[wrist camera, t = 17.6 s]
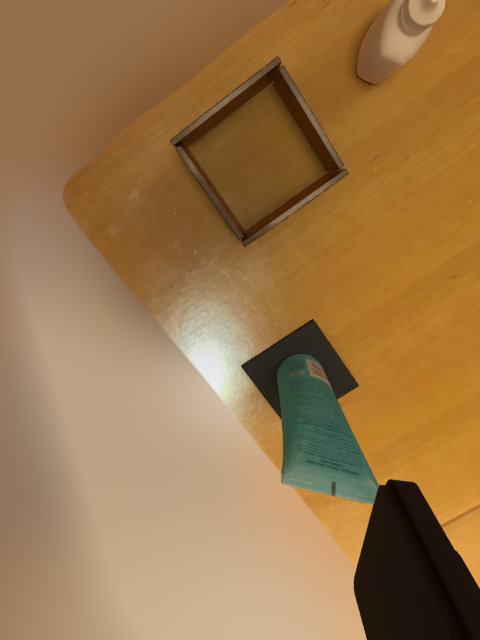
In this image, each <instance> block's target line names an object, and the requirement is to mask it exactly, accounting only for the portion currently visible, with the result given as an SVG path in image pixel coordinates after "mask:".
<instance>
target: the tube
mask: <svg viewBox="0 0 480 640" xmlns="http://www.w3.org/2000/svg"><path fill="white" fill-rule="evenodd" d="M277 381H278V388H279V396H280V405H281V416H282V429H283V465H282V472H281V473H282V480H281V483H282V484H285V485H289V486H293V487H296V488H300V489H304V490H308V491H313V492H316V493H321V494H325V495H330V496H334V497H338V498H342V499H346V500H351V501H355V502H360V503H365V504H373V505H374V501H375V497H376V494H377V490H378V487H379V485H378V483H377V481H376V479H375V477H374V475H373V473H372V471H371V469H370V467H369V465H368V463H367V461H366V459H365V457H364V455H363V453H362V451H361V449H360V447H359V444H358V442H357V440H356V438H355V436H354V434H353V432H352V430H351V428H350V426H349V424H348V422H347V420H346V417H345V415H344V413H343V411H342V409H341V407H340V405H339V403H338V401H337V398H336V396H335V394H334V392H333V390H332V387H331V385H330V383H329V381H328V379H327V377H326V374H325V372H324V370H323V368H322V366H321V364H320V363H319V362H318V360H316V359H315V358H314V357H312V356H310V355H306V354H296V355H292V356H290V357H288V358H286V359H285V360H284V361H283V362H282V363H281V365H280V366H279V369H278V372H277Z"/></svg>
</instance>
